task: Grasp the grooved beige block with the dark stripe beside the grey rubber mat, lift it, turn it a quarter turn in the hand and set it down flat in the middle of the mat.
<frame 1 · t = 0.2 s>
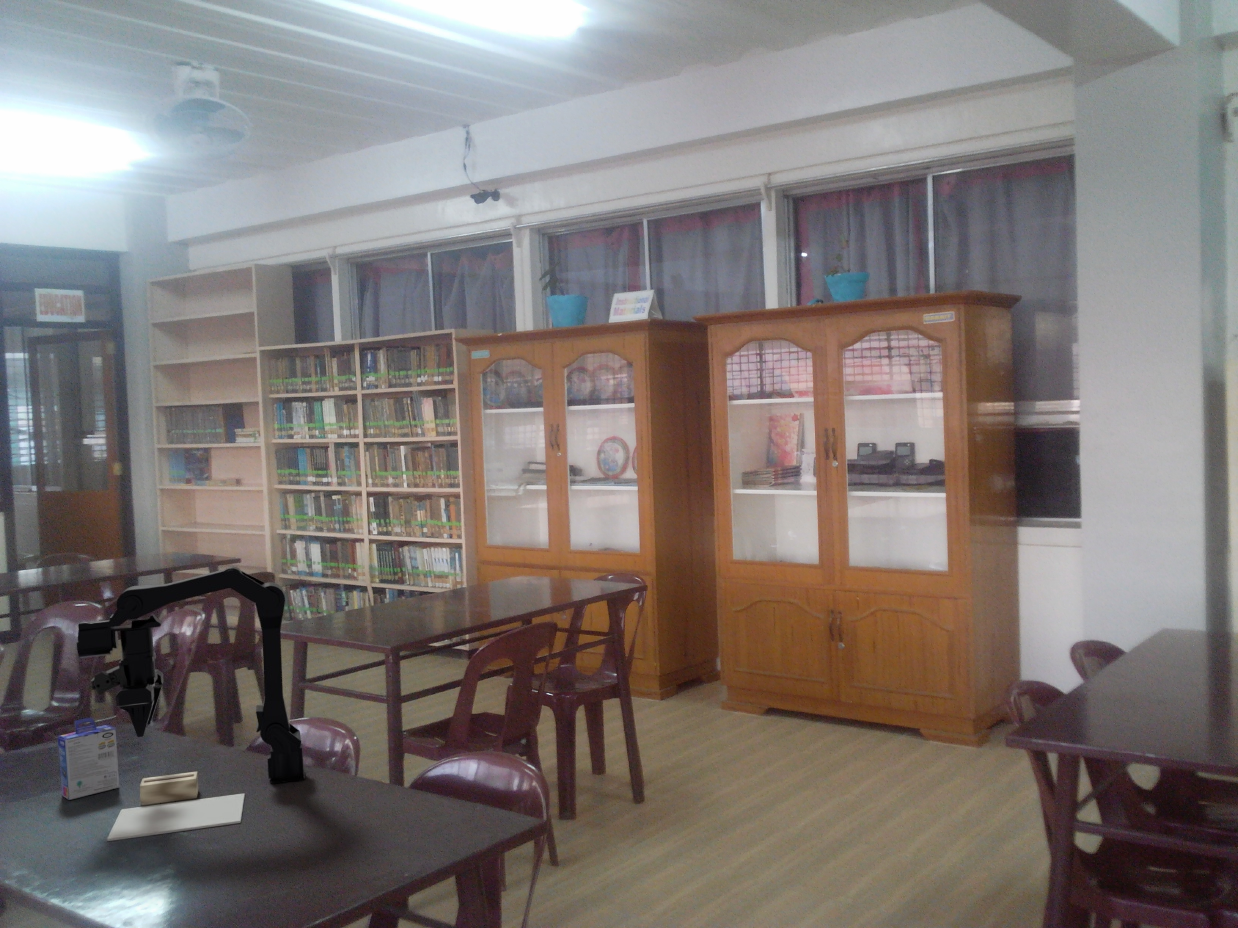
hand: (144, 730, 211), 13 cm above the table, fingers open, 9 cm apart
grooved beige block: (170, 798, 211), on the table
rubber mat: (179, 816, 199), on the table
ink cartridge box: (90, 792, 217), on the table
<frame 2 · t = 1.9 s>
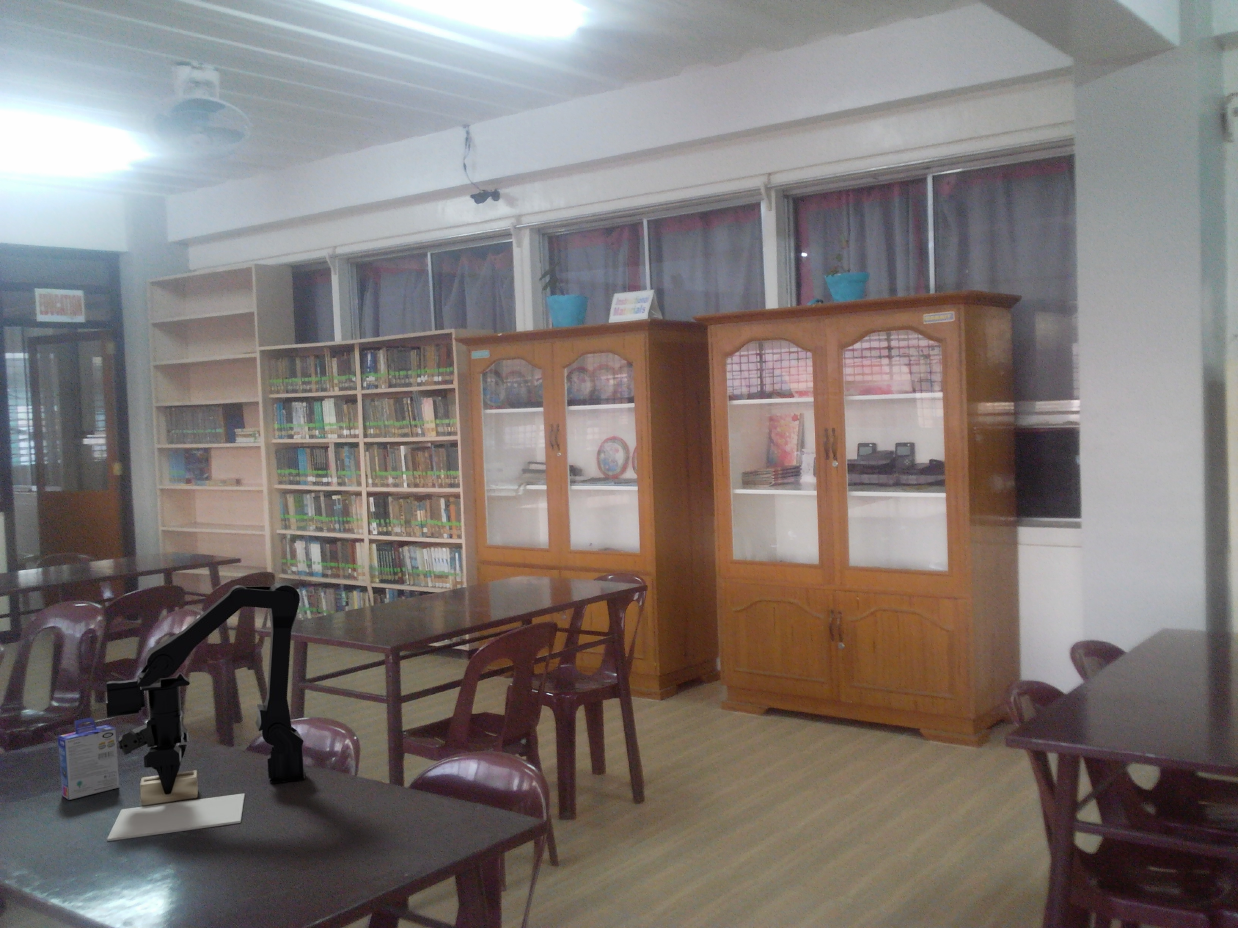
hand: (169, 789, 211), 2 cm above the table, fingers closed on grooved beige block, 5 cm apart
grooved beige block: (170, 797, 211), on the table, touching gripper
everything else where it was.
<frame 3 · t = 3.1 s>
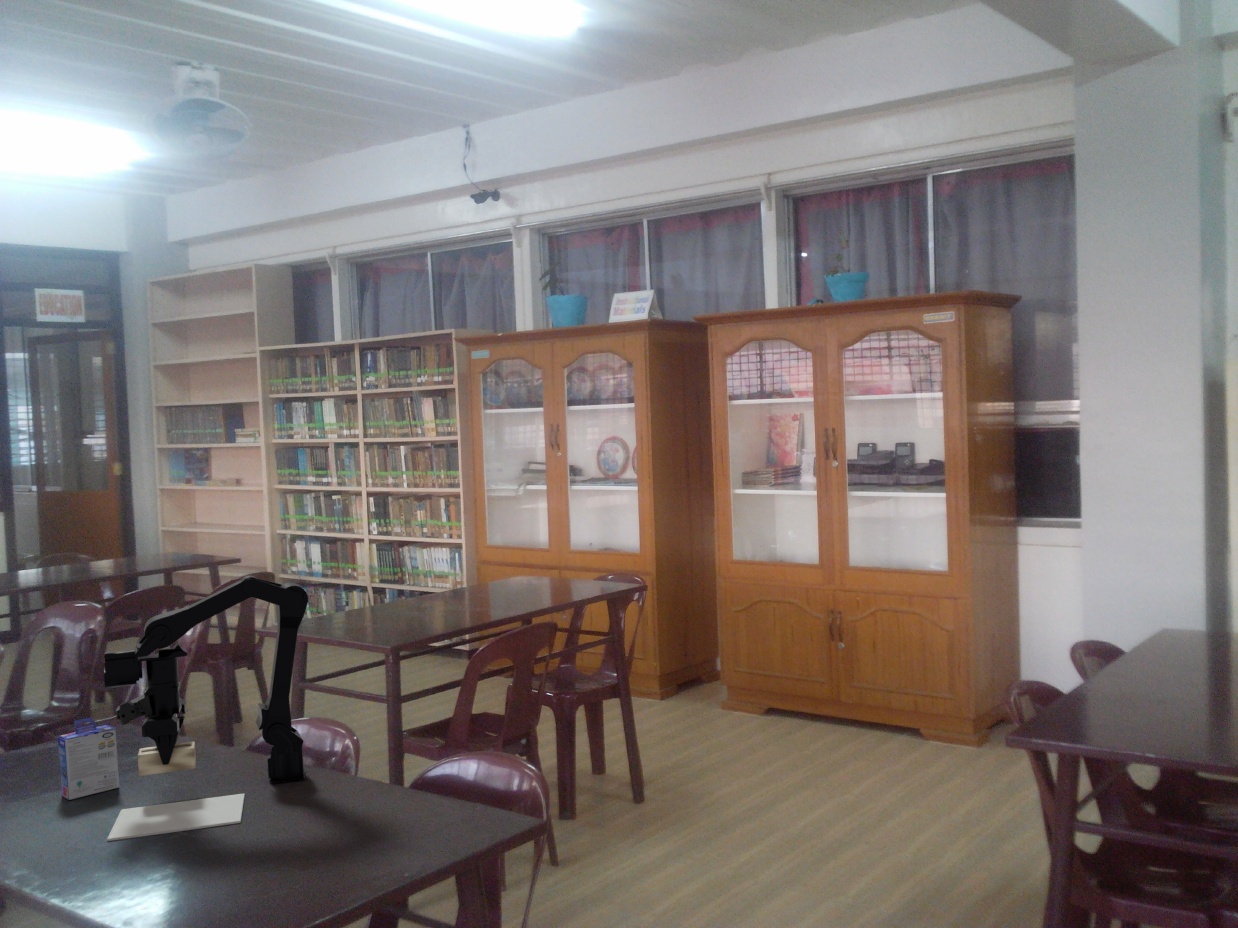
hand: (167, 760, 210), 7 cm above the table, fingers closed on grooved beige block, 5 cm apart
grooved beige block: (167, 768, 211), point 6 cm above the table, touching gripper
everything else where it was.
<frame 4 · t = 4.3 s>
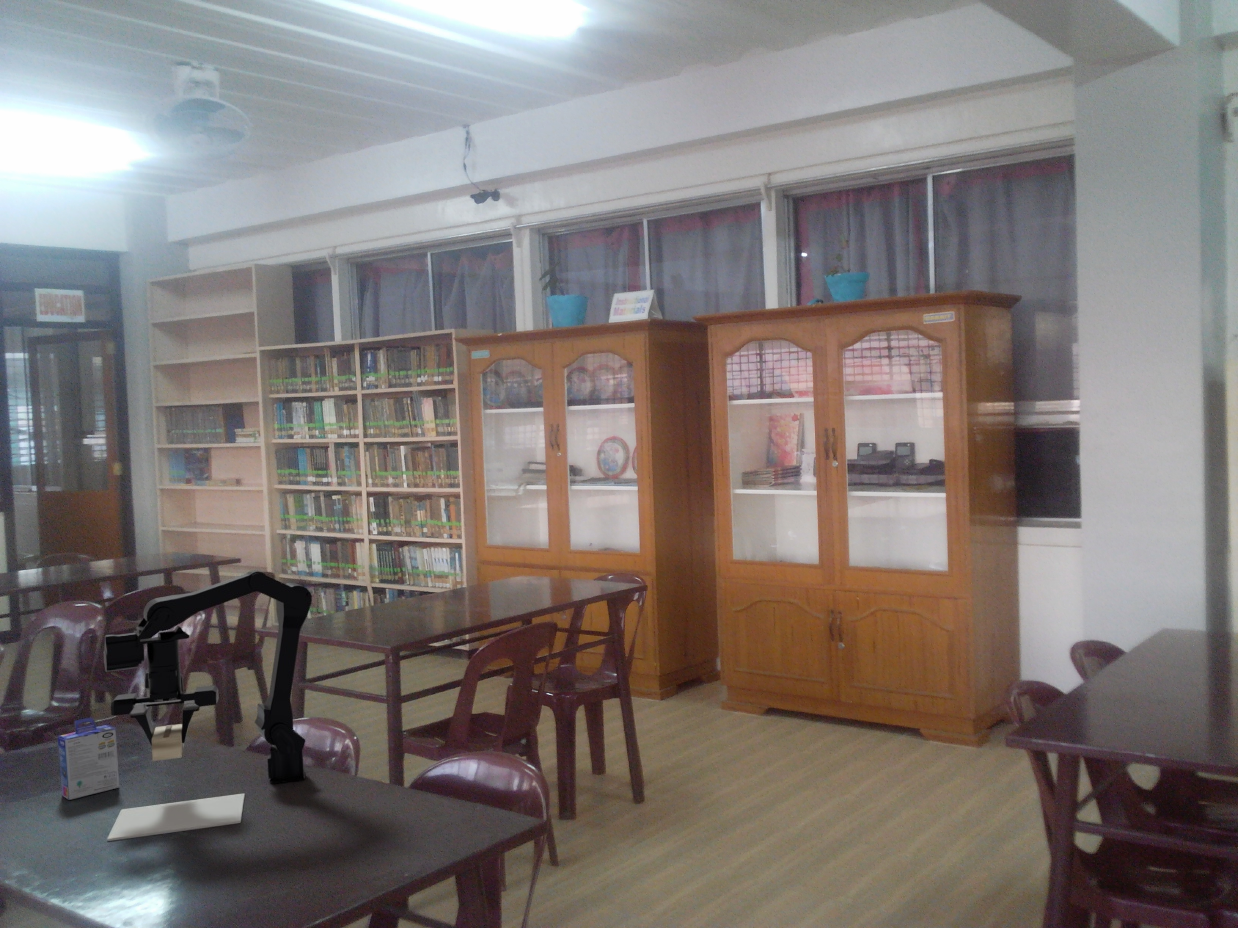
hand: (168, 744, 208), 11 cm above the table, fingers closed on grooved beige block, 5 cm apart
grooved beige block: (168, 752, 209), point 9 cm above the table, touching gripper
everything else where it was.
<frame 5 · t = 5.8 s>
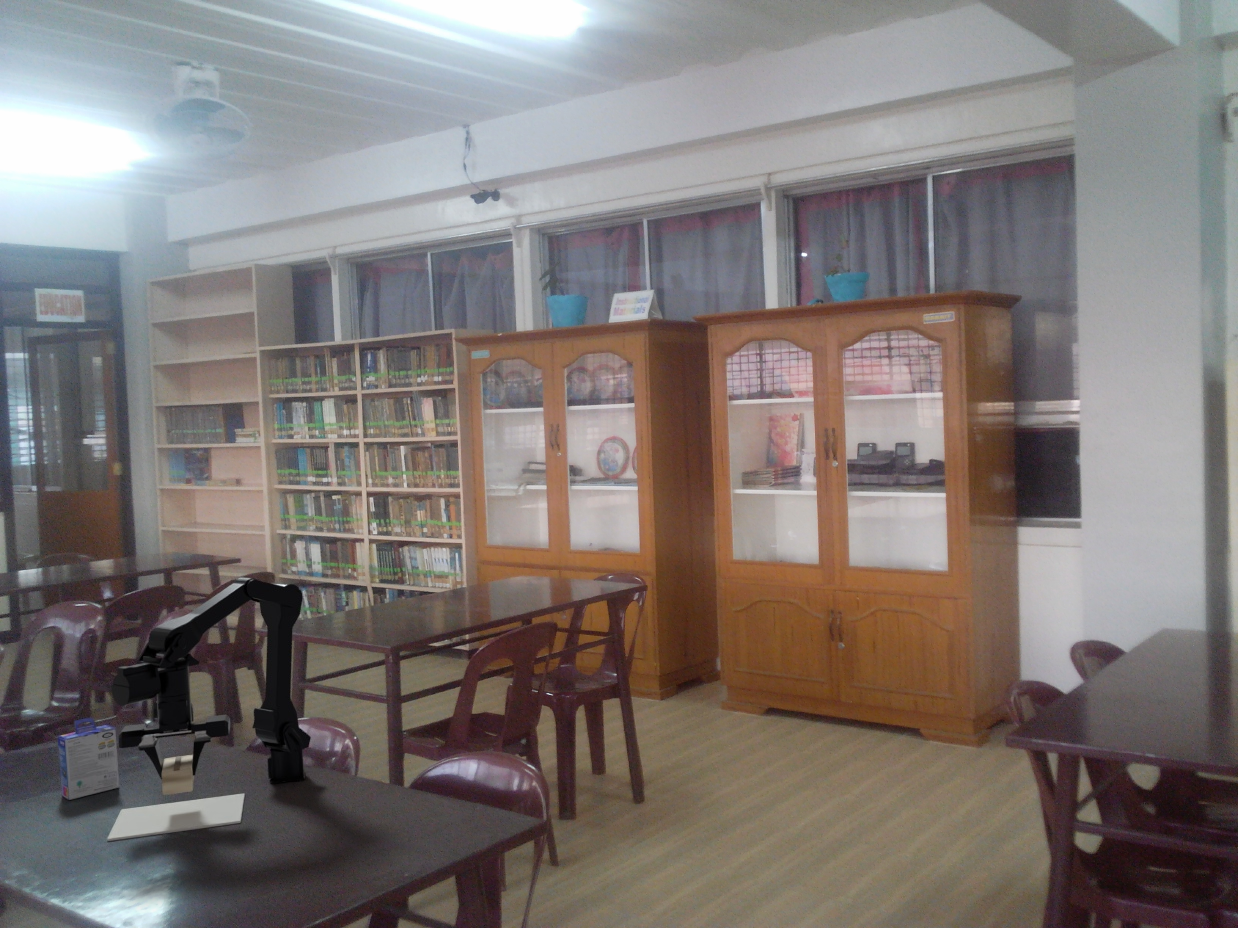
hand: (178, 776, 200), 7 cm above the table, fingers closed on grooved beige block, 5 cm apart
grooved beige block: (178, 784, 200), point 6 cm above the table, touching gripper
everything else where it was.
when the fingers open (3 cm above the table, at t = 6.8 s): grooved beige block drops 2 cm, resting on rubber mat.
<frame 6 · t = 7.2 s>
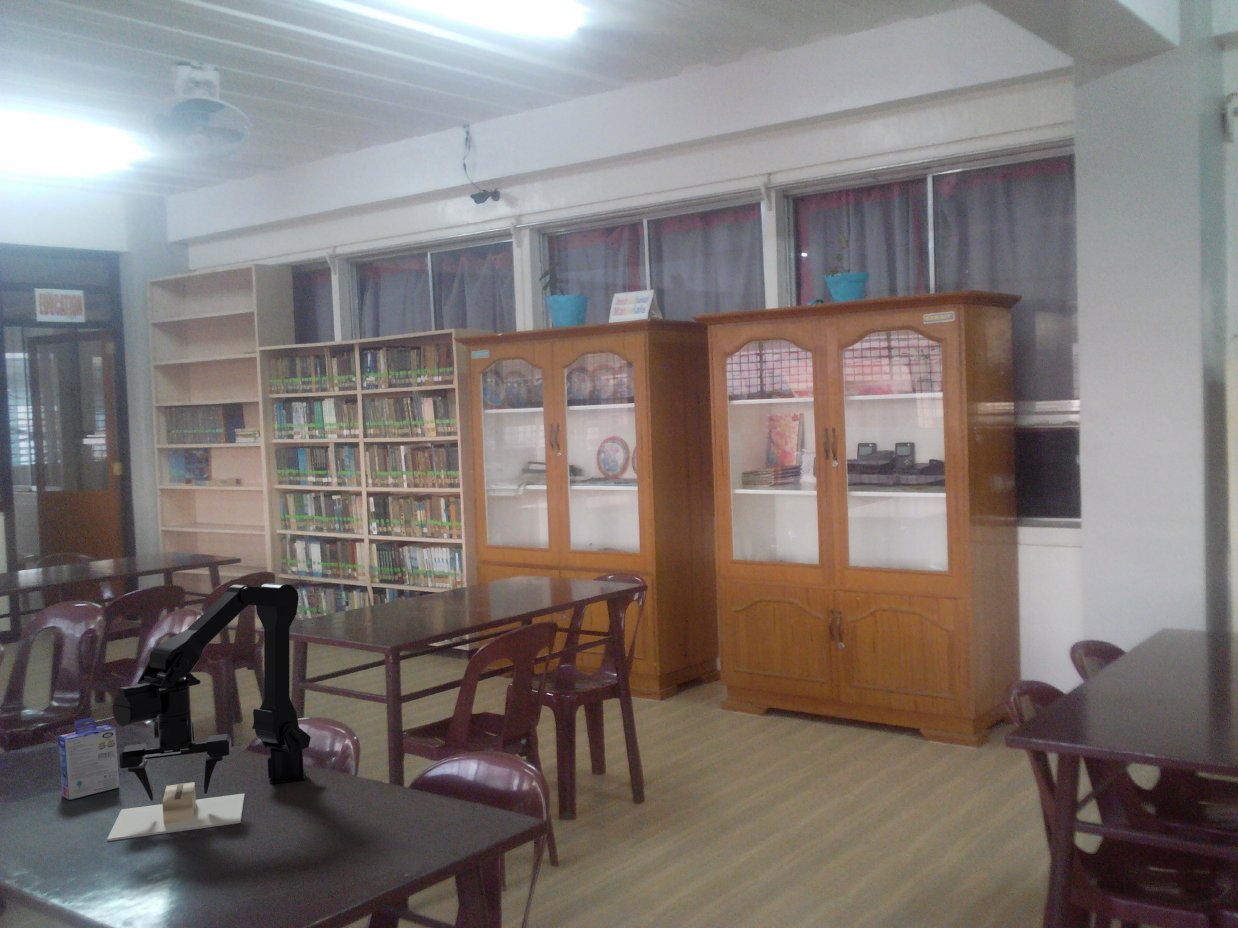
hand: (179, 796, 200), 3 cm above the table, fingers open, 9 cm apart
grooved beige block: (180, 812, 200), resting on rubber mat
everything else where it was.
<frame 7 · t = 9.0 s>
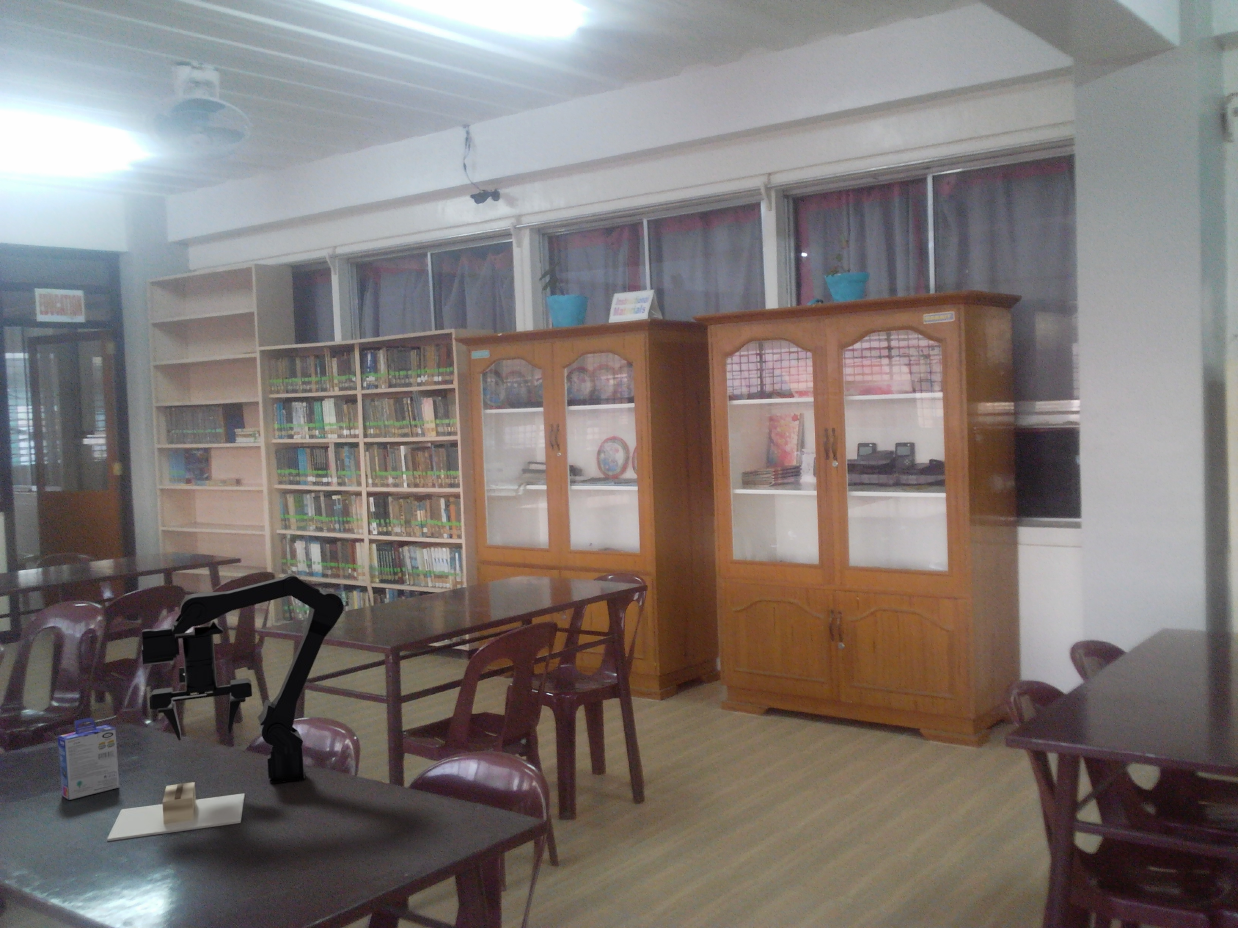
hand: (204, 736, 214), 11 cm above the table, fingers open, 9 cm apart
nothing on the table moved.
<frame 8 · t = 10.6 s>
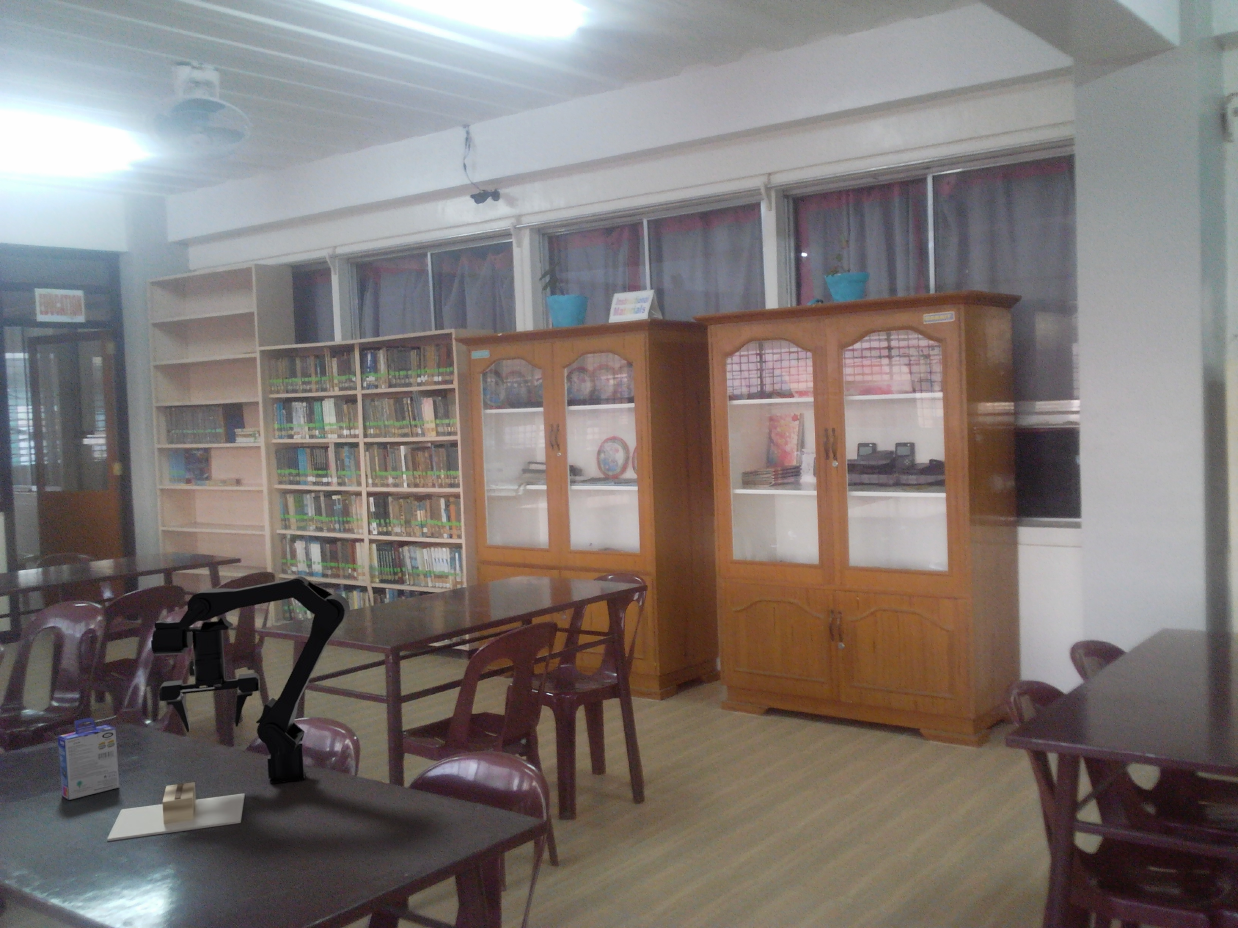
hand: (212, 728, 218), 11 cm above the table, fingers open, 9 cm apart
nothing on the table moved.
at the end: grooved beige block inside the target area (0.0 cm from its centre), resting on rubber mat; grooved beige block tilted 0°; grooved beige block touching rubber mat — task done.
